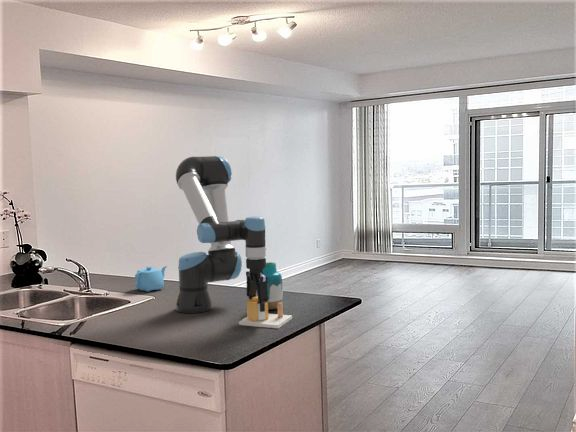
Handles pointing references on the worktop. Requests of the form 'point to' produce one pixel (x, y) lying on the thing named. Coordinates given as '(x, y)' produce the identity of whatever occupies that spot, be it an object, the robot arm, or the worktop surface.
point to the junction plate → (269, 319)
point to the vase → (273, 285)
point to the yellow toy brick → (255, 309)
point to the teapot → (150, 279)
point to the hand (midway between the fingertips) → (257, 317)
